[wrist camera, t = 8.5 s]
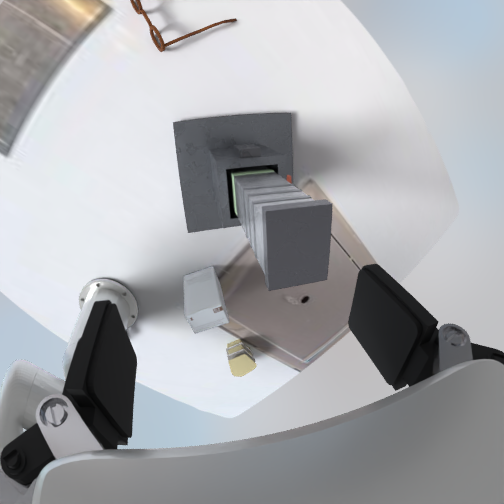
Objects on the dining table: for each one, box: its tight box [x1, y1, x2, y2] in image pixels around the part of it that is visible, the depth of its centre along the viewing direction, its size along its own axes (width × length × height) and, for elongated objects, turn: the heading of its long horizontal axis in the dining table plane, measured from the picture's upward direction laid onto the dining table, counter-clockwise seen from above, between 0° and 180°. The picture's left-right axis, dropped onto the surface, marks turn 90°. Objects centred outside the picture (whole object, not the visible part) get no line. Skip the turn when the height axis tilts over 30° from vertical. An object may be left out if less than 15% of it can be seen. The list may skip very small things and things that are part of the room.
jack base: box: [173, 113, 293, 233], centre depth 38 cm, size 18×18×14 cm
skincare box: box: [184, 266, 229, 333], centre depth 46 cm, size 6×4×12 cm
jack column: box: [227, 165, 332, 291], centre depth 28 cm, size 6×5×21 cm
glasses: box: [130, 0, 236, 52], centre depth 27 cm, size 13×13×5 cm
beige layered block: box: [226, 339, 256, 377], centre depth 60 cm, size 10×9×6 cm
